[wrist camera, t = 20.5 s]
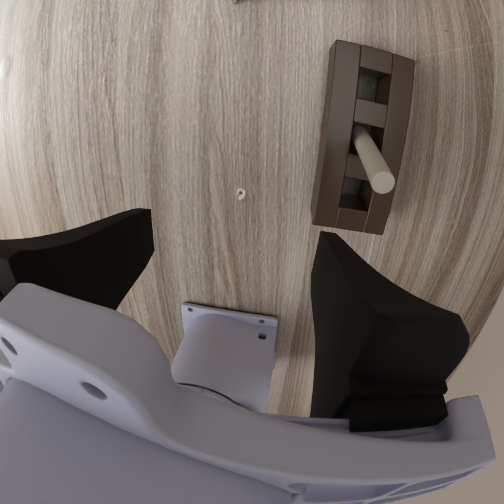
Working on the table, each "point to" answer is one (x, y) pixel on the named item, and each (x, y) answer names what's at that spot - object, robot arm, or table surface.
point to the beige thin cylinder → (372, 161)
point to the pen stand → (340, 129)
